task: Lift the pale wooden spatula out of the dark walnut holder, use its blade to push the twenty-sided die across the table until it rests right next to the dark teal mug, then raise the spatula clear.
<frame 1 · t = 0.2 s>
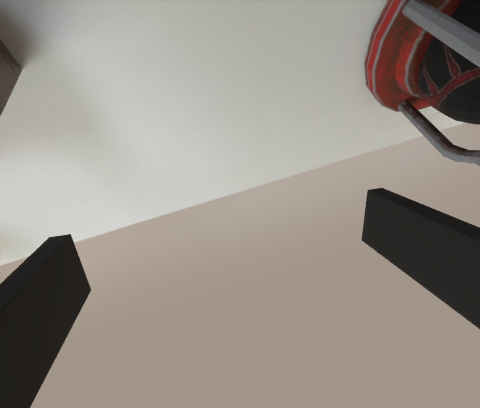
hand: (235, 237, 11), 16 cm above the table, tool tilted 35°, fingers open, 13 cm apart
hourglass: (453, 19, 22), on the table
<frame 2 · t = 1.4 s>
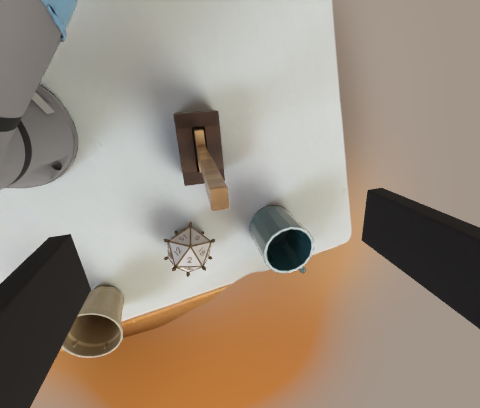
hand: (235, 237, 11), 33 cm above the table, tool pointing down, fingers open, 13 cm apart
spatula holder: (198, 144, 41), on the table
spatula: (199, 144, 40), point 1 cm above the table, touching spatula holder
mug: (271, 225, 49), on the table
flower pot: (106, 298, 48), on the table
twenty-sided die: (188, 238, 47), on the table
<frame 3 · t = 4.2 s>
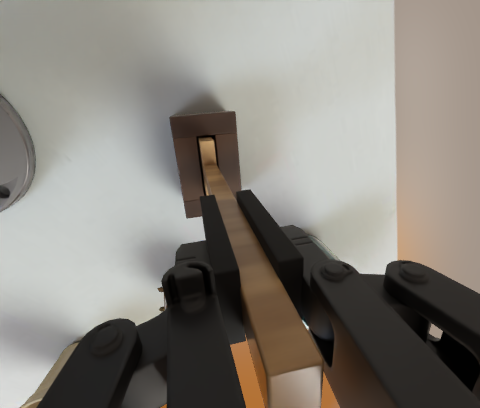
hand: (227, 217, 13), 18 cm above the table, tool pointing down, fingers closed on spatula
spatula holder: (205, 157, 30), on the table
spatula: (205, 158, 29), point 1 cm above the table, touching gripper
flower pot: (86, 355, 37), on the table
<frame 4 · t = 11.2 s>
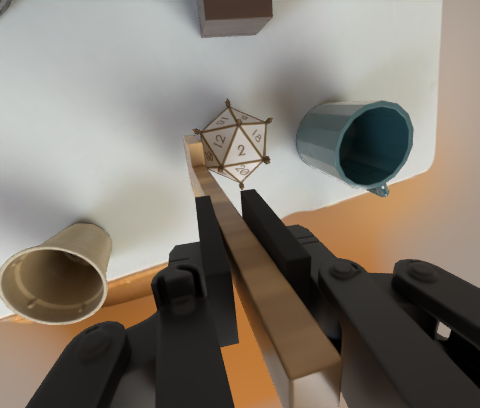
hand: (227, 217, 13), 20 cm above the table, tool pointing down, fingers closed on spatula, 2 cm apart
spatula: (192, 160, 29), point 3 cm above the table, touching twenty-sided die, gripper
mug: (326, 137, 34), on the table
flower pot: (87, 243, 33), on the table
twenty-sided die: (228, 141, 31), on the table, touching spatula
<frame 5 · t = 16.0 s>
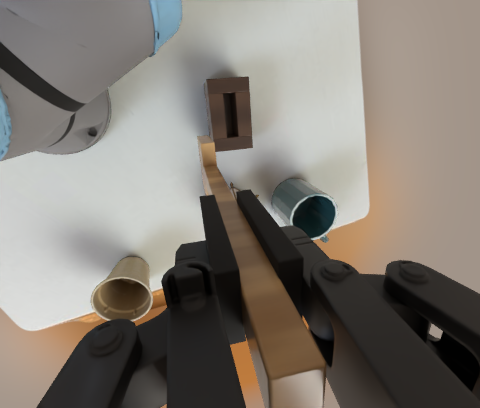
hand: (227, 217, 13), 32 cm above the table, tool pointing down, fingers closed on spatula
spatula holder: (225, 114, 42), on the table
spatula: (205, 160, 29), point 16 cm above the table, touching gripper
mug: (292, 198, 51), on the table
flower pot: (132, 269, 49), on the table
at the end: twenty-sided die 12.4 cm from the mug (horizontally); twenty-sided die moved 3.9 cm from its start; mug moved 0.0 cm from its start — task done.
